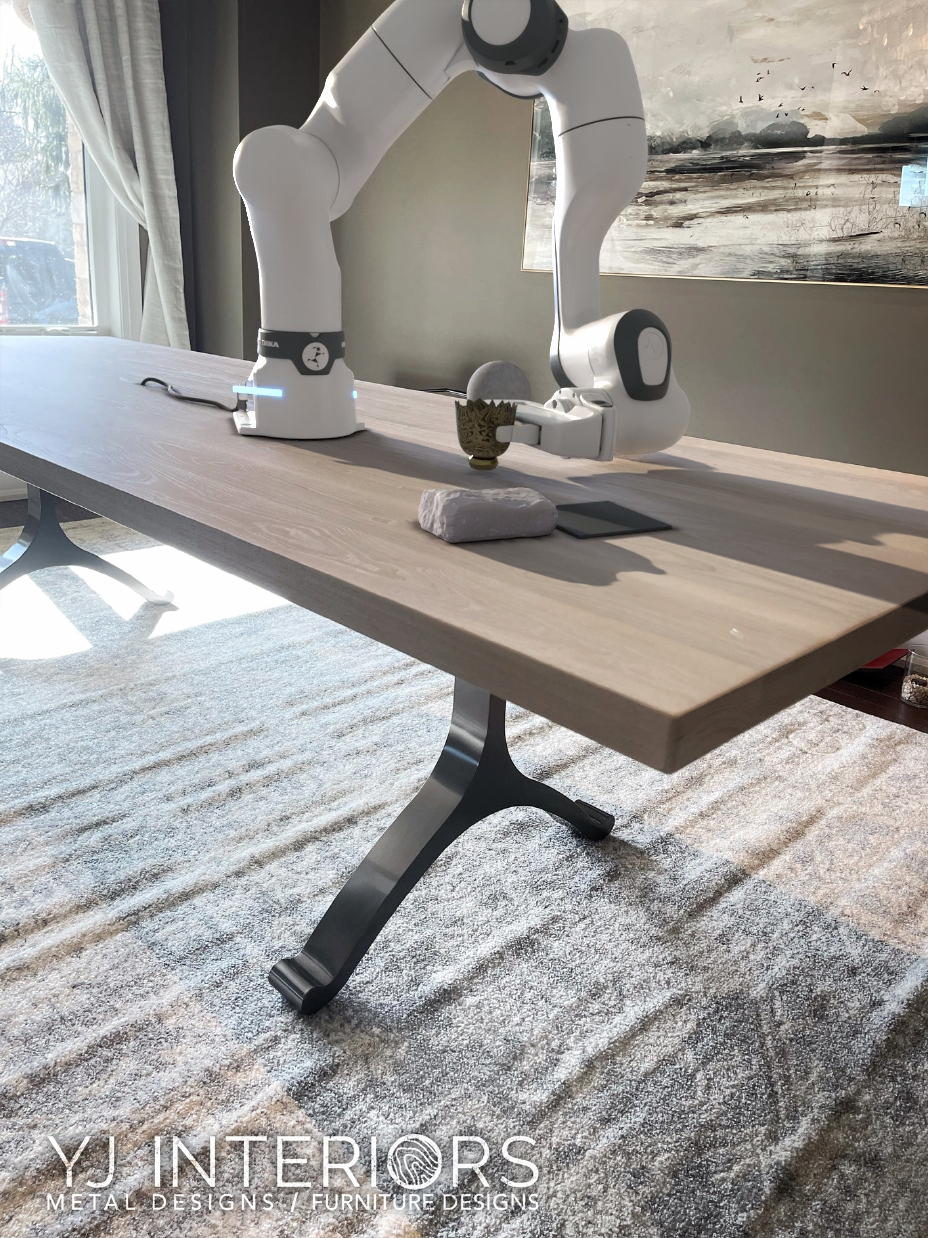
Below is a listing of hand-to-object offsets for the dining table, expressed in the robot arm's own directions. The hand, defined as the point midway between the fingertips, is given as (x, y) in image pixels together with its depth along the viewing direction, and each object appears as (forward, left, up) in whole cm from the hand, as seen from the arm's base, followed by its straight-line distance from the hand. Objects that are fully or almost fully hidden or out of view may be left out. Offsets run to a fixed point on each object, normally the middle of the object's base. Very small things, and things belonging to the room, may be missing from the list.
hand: (478, 427), depth 113 cm
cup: (0, +1, -5) cm, 5 cm away
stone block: (+22, -11, -6) cm, 25 cm away
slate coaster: (+23, +2, -6) cm, 24 cm away
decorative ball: (-31, +20, -6) cm, 37 cm away
